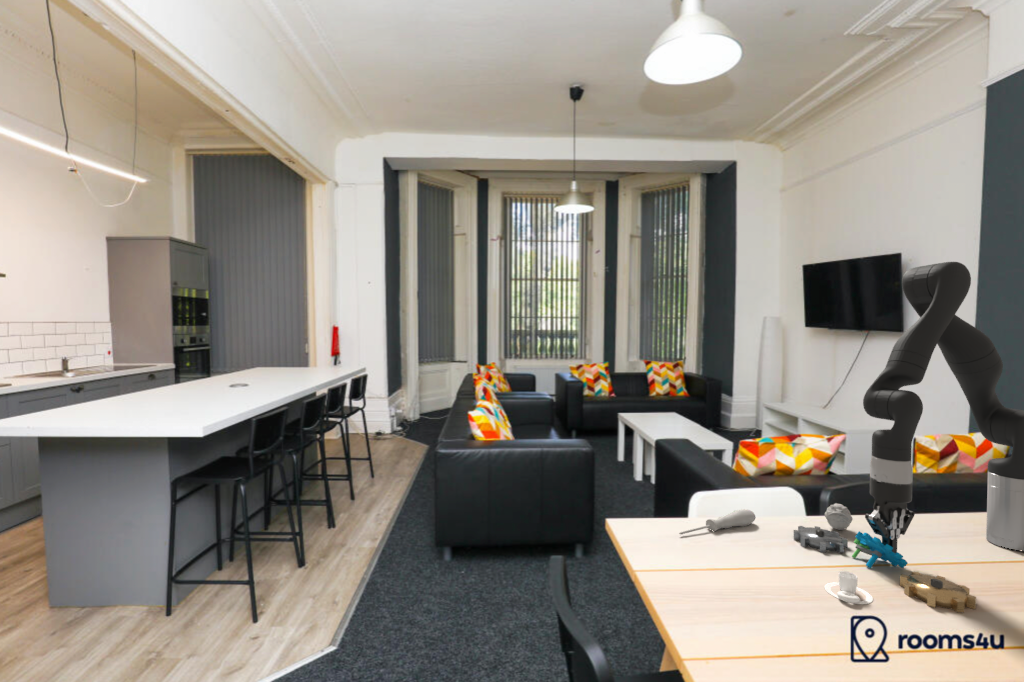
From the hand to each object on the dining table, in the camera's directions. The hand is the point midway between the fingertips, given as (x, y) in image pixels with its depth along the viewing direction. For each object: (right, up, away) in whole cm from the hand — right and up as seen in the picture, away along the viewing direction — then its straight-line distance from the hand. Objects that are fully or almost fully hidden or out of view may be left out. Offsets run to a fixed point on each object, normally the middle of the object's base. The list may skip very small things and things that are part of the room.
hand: (889, 553), depth 109 cm
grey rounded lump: (+1, -2, +18) cm, 18 cm away
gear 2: (-3, -2, -1) cm, 4 cm away
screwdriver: (-31, -2, +18) cm, 36 cm away
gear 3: (-1, -2, -14) cm, 14 cm away
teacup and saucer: (-21, -3, -12) cm, 25 cm away
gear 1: (-9, -2, +10) cm, 14 cm away
